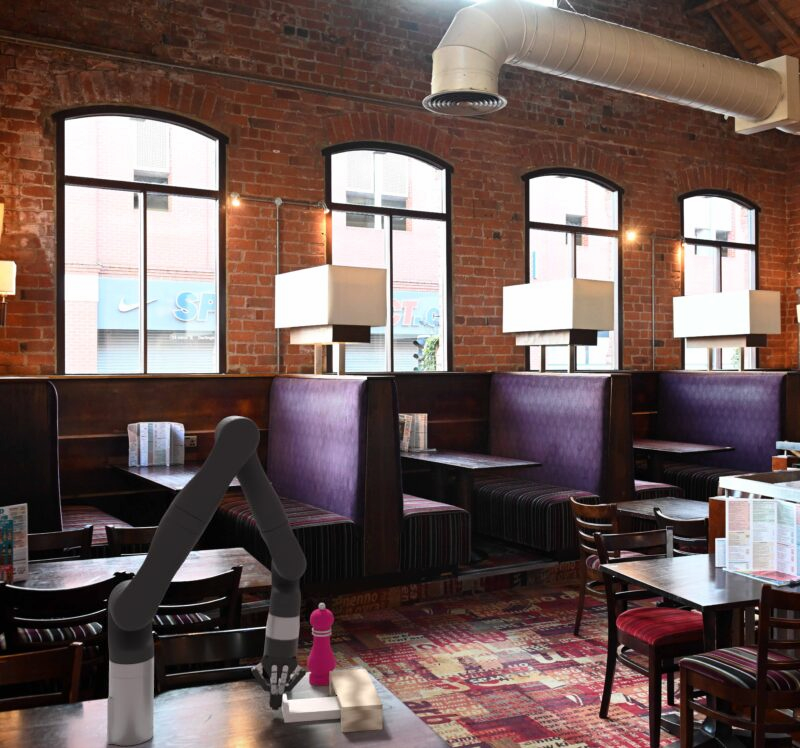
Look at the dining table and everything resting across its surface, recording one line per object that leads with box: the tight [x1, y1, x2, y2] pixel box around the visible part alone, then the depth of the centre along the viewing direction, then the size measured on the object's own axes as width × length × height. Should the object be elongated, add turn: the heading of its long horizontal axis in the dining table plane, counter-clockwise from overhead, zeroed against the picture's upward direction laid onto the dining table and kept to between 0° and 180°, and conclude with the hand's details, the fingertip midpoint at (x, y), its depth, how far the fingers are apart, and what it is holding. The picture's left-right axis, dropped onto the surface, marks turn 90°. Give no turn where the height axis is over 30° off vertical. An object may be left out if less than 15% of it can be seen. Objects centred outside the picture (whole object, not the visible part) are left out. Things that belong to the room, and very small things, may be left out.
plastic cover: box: [281, 693, 341, 724], centre depth 202 cm, size 15×8×4 cm, turn 102°
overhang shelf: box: [328, 668, 384, 733], centre depth 204 cm, size 9×23×6 cm, turn 12°
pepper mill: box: [306, 602, 337, 687], centre depth 223 cm, size 7×7×20 cm
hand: (275, 708), depth 200 cm, fingers closed
